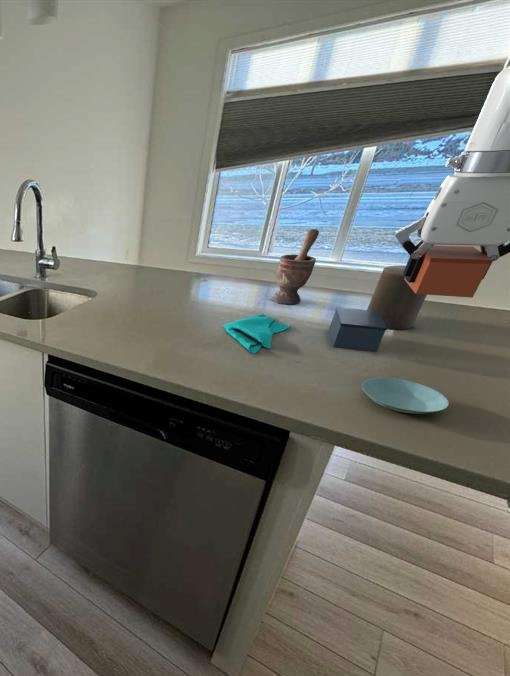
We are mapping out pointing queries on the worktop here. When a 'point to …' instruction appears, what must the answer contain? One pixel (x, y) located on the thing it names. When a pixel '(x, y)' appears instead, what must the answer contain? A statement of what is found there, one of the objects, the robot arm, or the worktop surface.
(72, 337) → the worktop surface
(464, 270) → the container
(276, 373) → the worktop surface
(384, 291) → the pillar candle
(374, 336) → the bottom container
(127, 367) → the worktop surface
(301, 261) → the mortar and pestle
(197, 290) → the worktop surface
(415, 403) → the saucer
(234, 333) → the cloth
